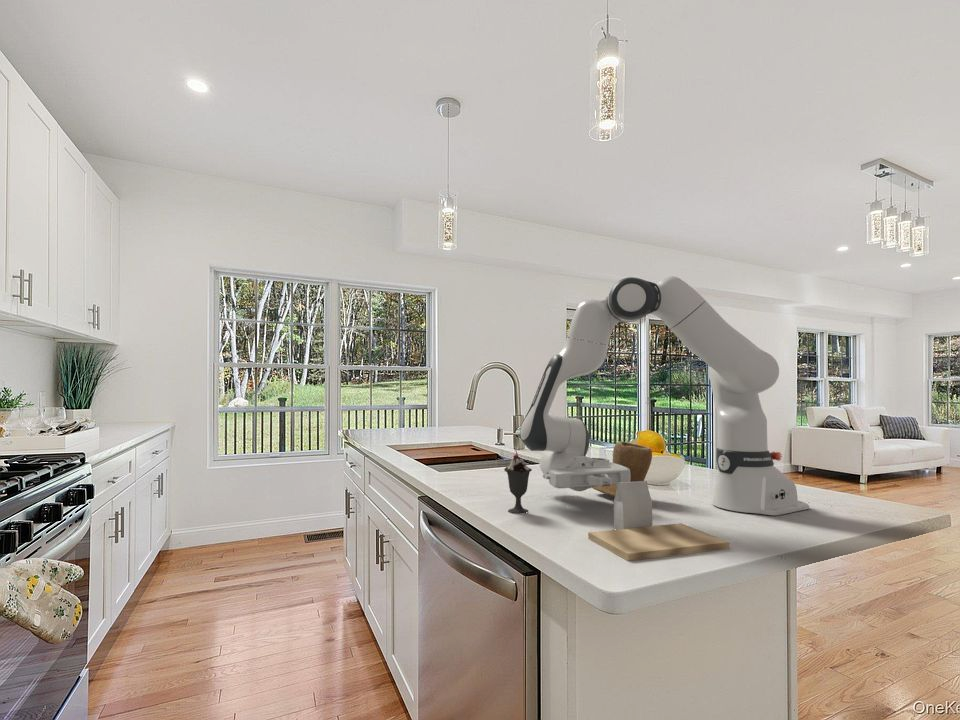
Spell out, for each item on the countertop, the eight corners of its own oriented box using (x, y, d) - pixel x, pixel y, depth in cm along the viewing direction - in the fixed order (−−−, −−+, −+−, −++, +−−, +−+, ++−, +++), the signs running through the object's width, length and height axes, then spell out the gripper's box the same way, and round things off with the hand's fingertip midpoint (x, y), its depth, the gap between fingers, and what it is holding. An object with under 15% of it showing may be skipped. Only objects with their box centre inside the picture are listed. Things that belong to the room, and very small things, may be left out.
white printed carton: (652, 531, 108) (651, 482, 108) (623, 533, 106) (622, 484, 106) (642, 526, 111) (641, 479, 112) (614, 529, 109) (613, 481, 110)
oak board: (681, 529, 109) (680, 523, 109) (730, 548, 96) (729, 541, 96) (588, 538, 102) (588, 532, 102) (627, 560, 89) (627, 553, 90)
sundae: (513, 506, 129) (513, 446, 129) (537, 510, 125) (536, 448, 125) (498, 512, 123) (498, 448, 124) (523, 516, 119) (522, 450, 120)
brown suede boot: (662, 502, 134) (661, 443, 135) (624, 506, 130) (623, 445, 130) (626, 490, 148) (625, 438, 149) (590, 493, 144) (590, 439, 145)
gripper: (539, 462, 129) (565, 471, 116) (611, 458, 135) (643, 466, 122) (539, 487, 128) (565, 499, 115) (612, 482, 135) (644, 493, 122)
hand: (606, 482), depth 119 cm, fingers closed
